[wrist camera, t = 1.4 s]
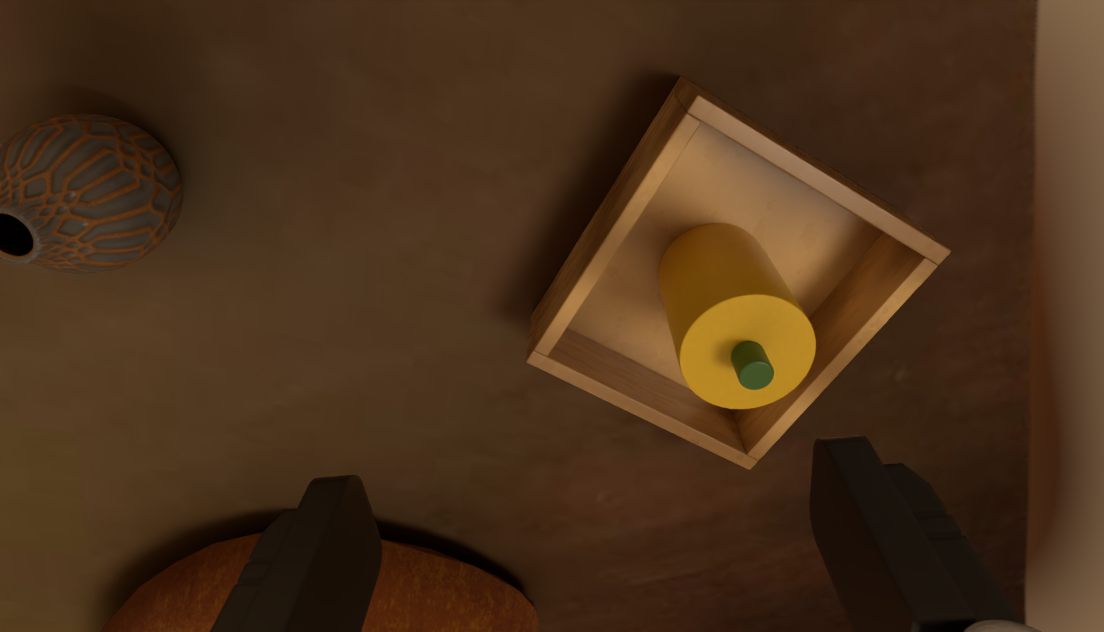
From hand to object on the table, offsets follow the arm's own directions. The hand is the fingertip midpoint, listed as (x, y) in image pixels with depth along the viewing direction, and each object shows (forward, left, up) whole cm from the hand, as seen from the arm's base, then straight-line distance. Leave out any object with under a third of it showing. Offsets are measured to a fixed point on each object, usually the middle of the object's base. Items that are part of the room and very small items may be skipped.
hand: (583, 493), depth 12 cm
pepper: (+2, +9, -23) cm, 25 cm away
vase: (+12, -19, -24) cm, 33 cm away
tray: (+2, +9, -24) cm, 26 cm away
